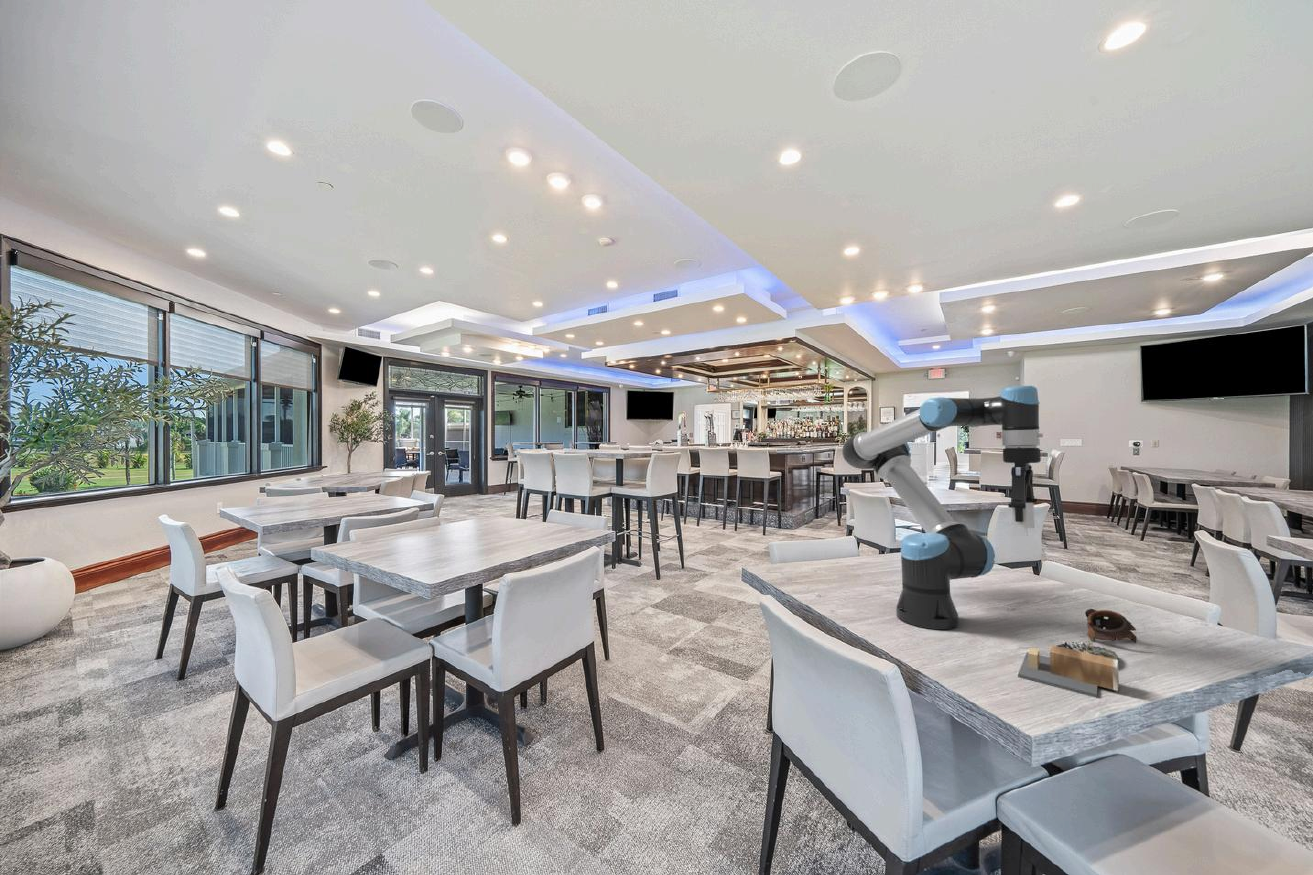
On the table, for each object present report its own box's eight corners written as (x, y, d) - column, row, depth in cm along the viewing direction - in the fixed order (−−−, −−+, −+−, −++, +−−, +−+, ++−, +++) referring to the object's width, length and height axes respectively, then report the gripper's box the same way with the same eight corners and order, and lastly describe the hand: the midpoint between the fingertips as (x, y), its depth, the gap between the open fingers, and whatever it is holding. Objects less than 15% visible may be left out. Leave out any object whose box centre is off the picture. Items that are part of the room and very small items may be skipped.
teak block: (1049, 651, 97) (1116, 667, 90) (1052, 645, 101) (1117, 659, 93) (1050, 673, 97) (1117, 690, 90) (1053, 666, 100) (1118, 682, 93)
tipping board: (1018, 676, 97) (1017, 659, 97) (1026, 654, 107) (1026, 638, 107) (1096, 697, 89) (1096, 678, 89) (1098, 671, 99) (1097, 654, 99)
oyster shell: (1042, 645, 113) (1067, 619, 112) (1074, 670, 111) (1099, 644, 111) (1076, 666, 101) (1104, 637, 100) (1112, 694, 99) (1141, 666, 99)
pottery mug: (1153, 650, 110) (1144, 623, 108) (1114, 666, 111) (1104, 640, 109) (1105, 619, 121) (1097, 594, 120) (1070, 634, 122) (1061, 609, 121)
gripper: (1034, 447, 106) (1037, 540, 106) (1045, 446, 124) (1048, 525, 124) (994, 448, 111) (997, 536, 111) (1010, 446, 129) (1013, 523, 129)
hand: (1024, 531), depth 117 cm, fingers open, 13 cm apart
